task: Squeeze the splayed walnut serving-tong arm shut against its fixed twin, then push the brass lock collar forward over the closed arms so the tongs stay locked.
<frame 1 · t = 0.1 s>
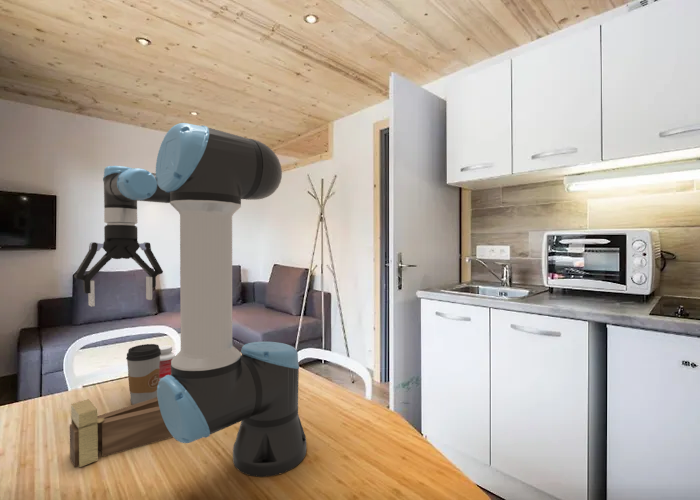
hand: (122, 302, 94), 28 cm above the table, fingers open, 13 cm apart
coffee cup: (144, 401, 96), on the table
pill bottle: (164, 382, 110), on the table
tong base: (140, 436, 79), on the table
lock collar: (84, 431, 71), point 6 cm above the table, slide at 0.0 cm
tong arm: (147, 426, 77), point 3 cm above the table, hinge at -15.0°
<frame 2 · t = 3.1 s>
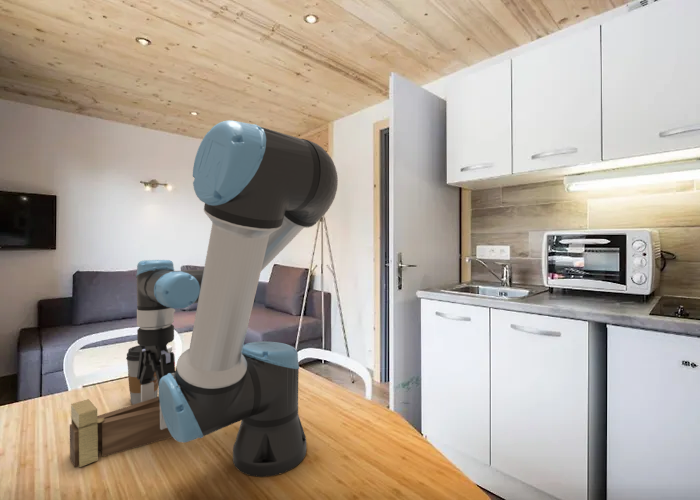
hand: (156, 418, 81), 3 cm above the table, fingers open, 11 cm apart
tong arm: (147, 426, 77), point 3 cm above the table, hinge at -14.7°, touching gripper
everything else where it was.
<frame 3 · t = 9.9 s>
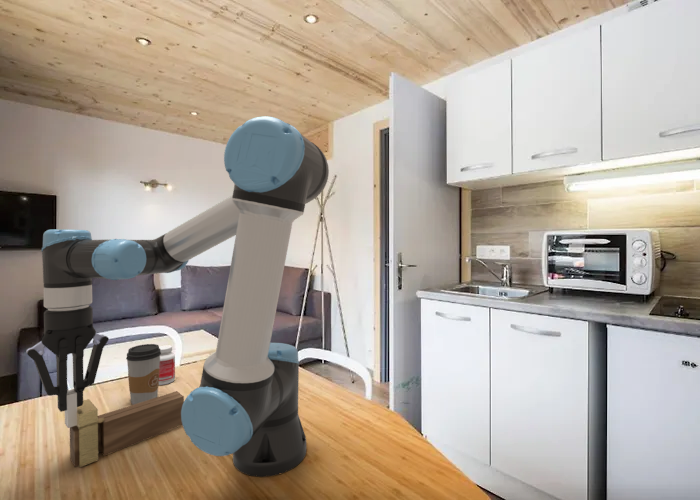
hand: (71, 424, 69), 8 cm above the table, fingers closed
lock collar: (84, 431, 71), point 6 cm above the table, slide at 0.1 cm, touching gripper
tong arm: (145, 422, 79), point 3 cm above the table, hinge at 0.4°
everything else where it was.
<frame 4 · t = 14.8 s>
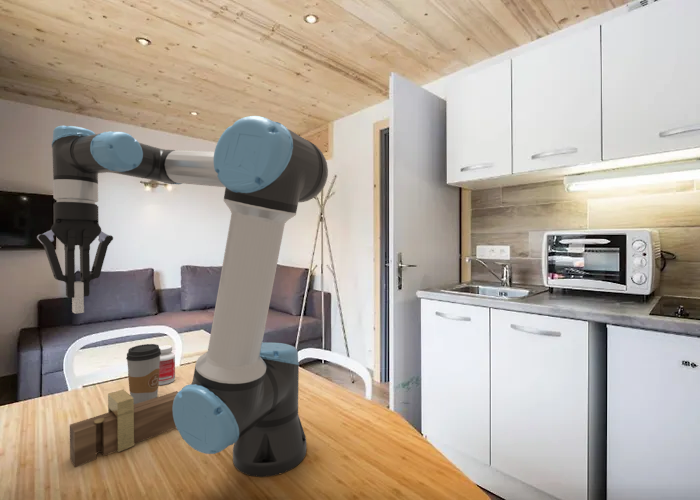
hand: (78, 312, 74), 29 cm above the table, fingers closed
lock collar: (120, 419, 76), point 5 cm above the table, slide at 6.5 cm
everything else where it was.
at the end: tong arm at +0° (first picture: -15°); lock collar slide at 6.5 cm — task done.
